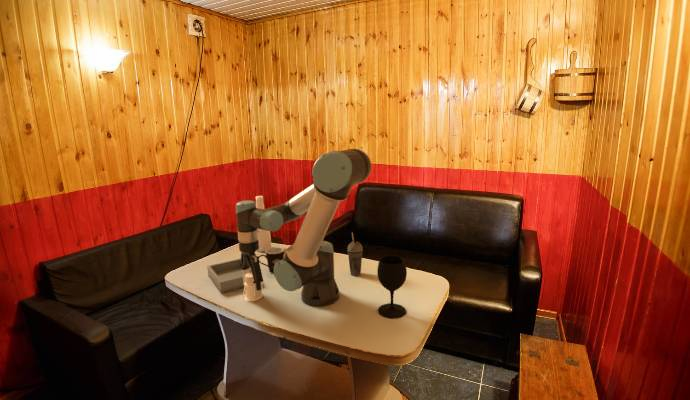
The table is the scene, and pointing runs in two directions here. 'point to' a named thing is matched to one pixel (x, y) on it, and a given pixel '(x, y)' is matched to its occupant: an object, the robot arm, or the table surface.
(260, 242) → the alcohol
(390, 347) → the table surface
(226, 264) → the tote
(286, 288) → the robot arm
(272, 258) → the coffee mug
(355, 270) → the beverage cup
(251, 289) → the downlight
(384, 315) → the wine glass
